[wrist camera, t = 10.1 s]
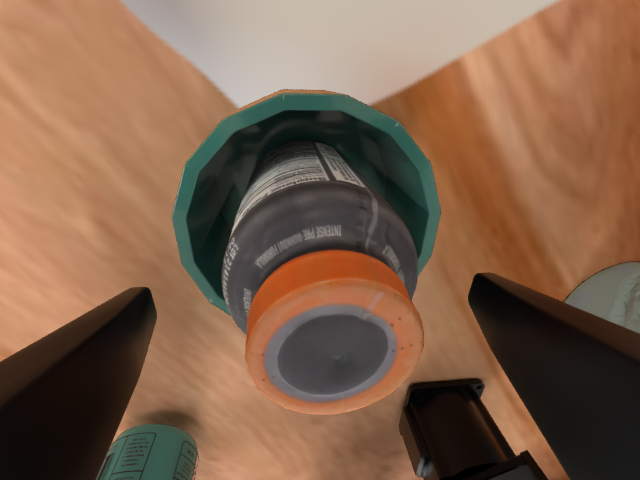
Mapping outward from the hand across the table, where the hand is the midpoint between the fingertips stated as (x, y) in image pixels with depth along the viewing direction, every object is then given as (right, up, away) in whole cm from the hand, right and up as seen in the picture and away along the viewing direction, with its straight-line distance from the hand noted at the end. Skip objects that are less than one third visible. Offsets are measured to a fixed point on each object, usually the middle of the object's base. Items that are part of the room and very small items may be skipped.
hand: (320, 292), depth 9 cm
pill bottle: (-1, +4, +8) cm, 9 cm away
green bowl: (-1, +4, +9) cm, 10 cm away
